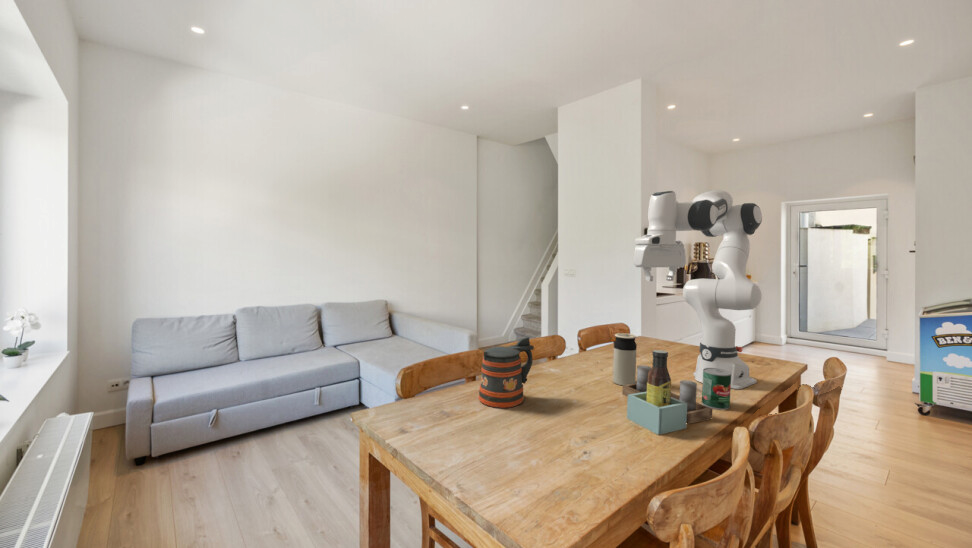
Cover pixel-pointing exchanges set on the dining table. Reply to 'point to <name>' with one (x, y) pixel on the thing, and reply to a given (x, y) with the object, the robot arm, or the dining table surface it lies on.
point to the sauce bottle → (659, 380)
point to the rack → (673, 395)
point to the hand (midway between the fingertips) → (659, 281)
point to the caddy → (656, 414)
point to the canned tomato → (716, 388)
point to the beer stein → (504, 375)
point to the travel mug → (624, 359)
